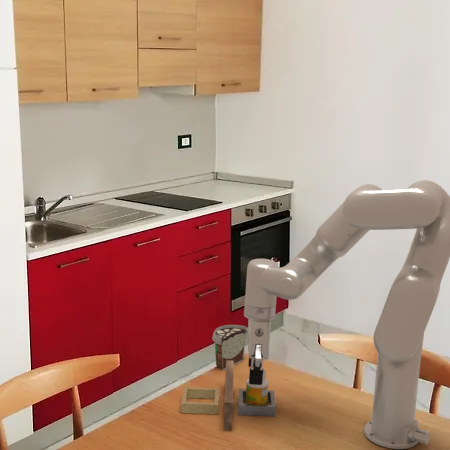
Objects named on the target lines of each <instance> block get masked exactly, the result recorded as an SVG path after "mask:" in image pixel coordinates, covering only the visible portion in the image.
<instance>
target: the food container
mask: <svg viewBox="0 0 450 450" xmlns="http://www.w3.org/2000/svg"><path fill="white" fill-rule="evenodd" d="M247 334H248V326H244V325H239V324H226V325H221V326H219V327H217V328H215V330H214V331H213V334H212V338H211V339H212V341H213V342H214V350H215V354H214V355H215V366H216V368H218V369H219V370H220V371H224V370H226V360H230V361H234V366H235V365H236V364H239V363H240V362H242V361H244V357H245V348H246V337H247Z"/></svg>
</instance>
